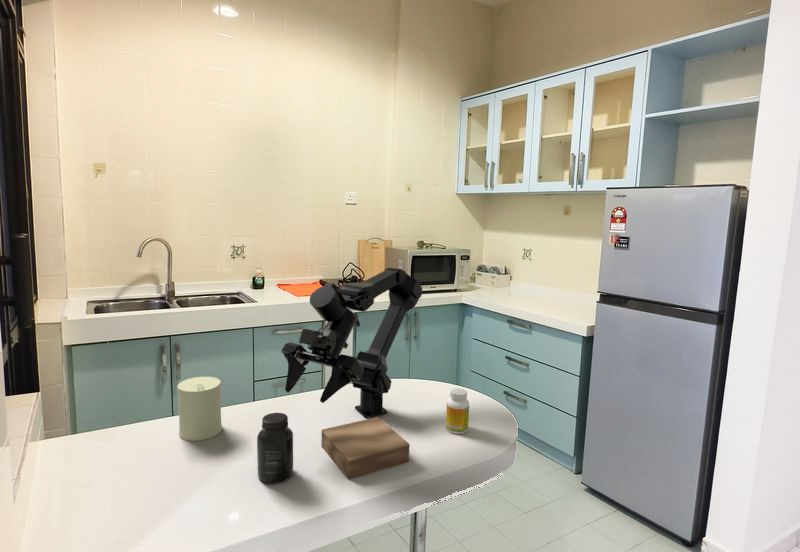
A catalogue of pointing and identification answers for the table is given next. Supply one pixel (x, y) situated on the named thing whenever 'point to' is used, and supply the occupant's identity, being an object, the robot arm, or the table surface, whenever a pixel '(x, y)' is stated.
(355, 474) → the block
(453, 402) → the supplement bottle
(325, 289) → the robot arm
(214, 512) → the table surface
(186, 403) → the can
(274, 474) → the supplement bottle
